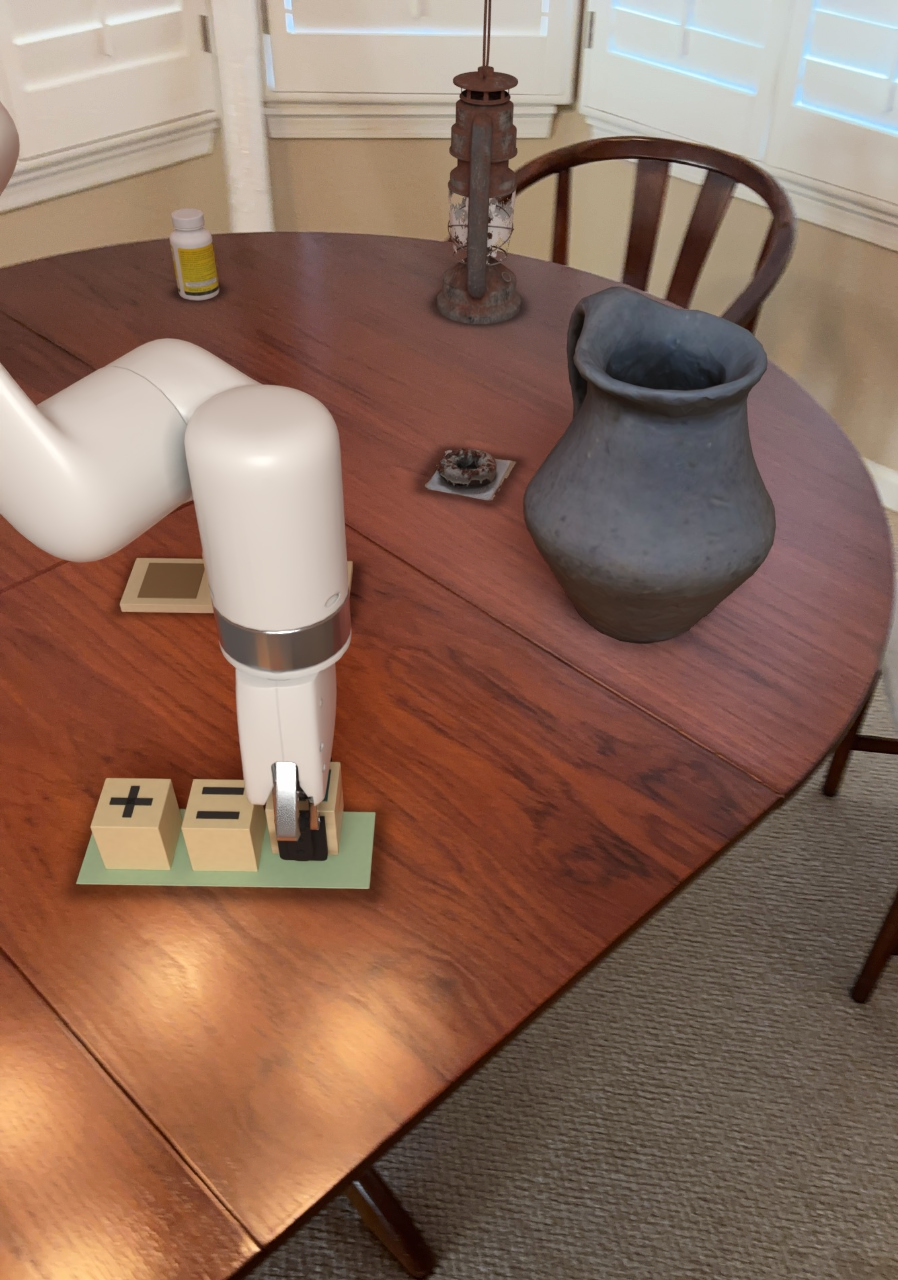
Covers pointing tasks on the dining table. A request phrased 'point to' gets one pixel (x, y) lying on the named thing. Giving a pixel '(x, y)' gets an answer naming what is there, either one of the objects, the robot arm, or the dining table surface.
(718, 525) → the pitcher
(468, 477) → the donut
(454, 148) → the lantern
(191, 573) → the mat
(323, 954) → the dining table surface
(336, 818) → the cream block
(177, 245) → the supplement bottle
